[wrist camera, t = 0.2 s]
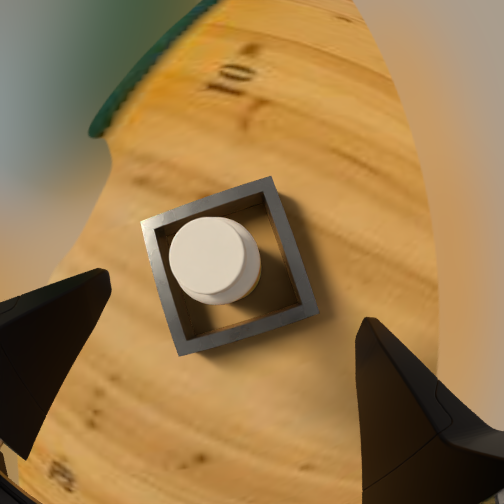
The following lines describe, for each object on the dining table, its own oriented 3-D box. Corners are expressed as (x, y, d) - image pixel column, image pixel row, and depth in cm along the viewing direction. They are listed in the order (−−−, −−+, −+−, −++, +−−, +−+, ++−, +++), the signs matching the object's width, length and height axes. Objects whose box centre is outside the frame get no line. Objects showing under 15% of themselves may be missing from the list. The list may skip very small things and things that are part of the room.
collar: (312, 310, 23) (319, 313, 20) (188, 349, 23) (178, 356, 20) (270, 188, 25) (270, 175, 22) (153, 229, 25) (140, 221, 22)
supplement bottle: (265, 241, 24) (266, 209, 14) (256, 305, 23) (251, 316, 14) (203, 233, 24) (166, 198, 15) (193, 295, 24) (148, 298, 14)
